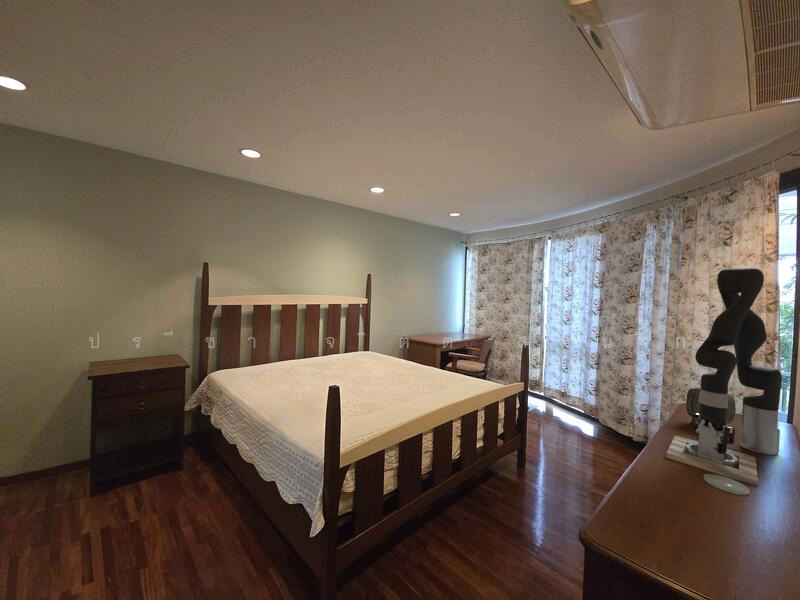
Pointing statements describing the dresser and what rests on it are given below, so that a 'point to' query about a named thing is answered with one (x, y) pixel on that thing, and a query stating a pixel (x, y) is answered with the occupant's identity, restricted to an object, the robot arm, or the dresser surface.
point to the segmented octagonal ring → (728, 457)
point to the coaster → (726, 484)
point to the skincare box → (708, 443)
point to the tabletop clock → (693, 404)
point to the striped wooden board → (744, 473)
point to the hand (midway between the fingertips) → (710, 448)
